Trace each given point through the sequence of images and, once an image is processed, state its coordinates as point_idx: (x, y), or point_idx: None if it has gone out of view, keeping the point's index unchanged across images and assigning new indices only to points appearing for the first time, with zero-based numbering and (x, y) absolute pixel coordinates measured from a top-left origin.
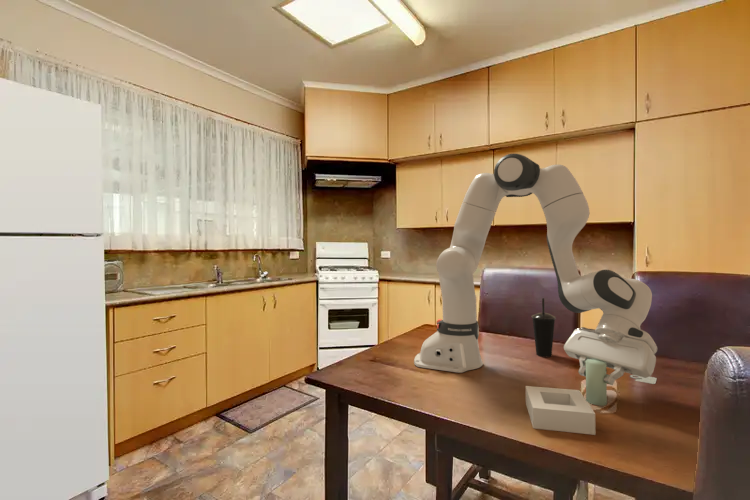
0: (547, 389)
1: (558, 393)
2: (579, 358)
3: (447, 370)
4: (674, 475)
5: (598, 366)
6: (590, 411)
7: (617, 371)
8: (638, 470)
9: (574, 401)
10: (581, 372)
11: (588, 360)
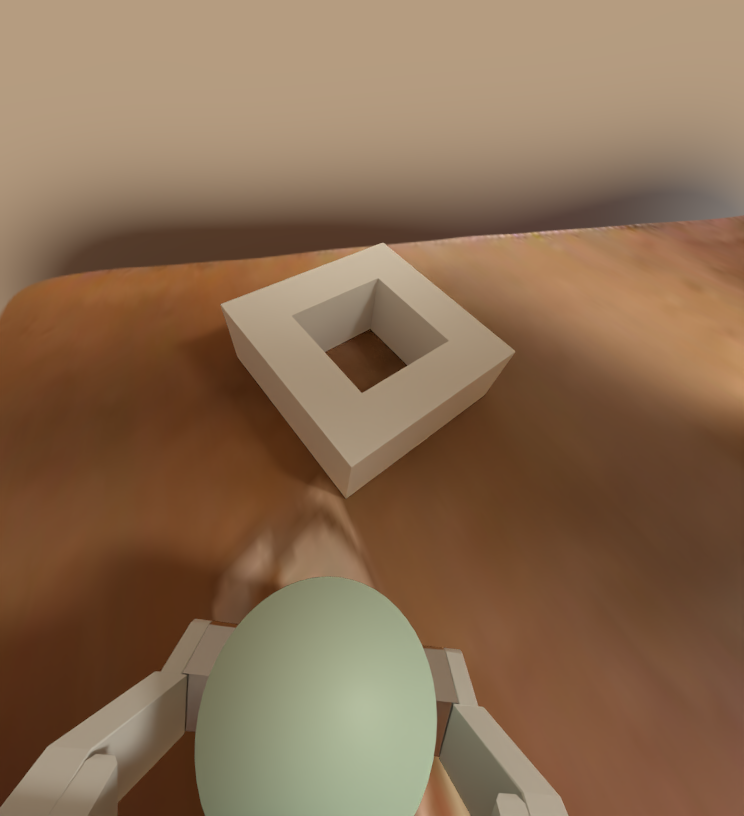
0: (445, 375)
1: (396, 374)
2: (566, 813)
3: None
4: (33, 307)
5: (266, 601)
6: (238, 309)
7: (82, 731)
8: (118, 282)
9: (313, 342)
10: (432, 646)
11: (407, 690)
